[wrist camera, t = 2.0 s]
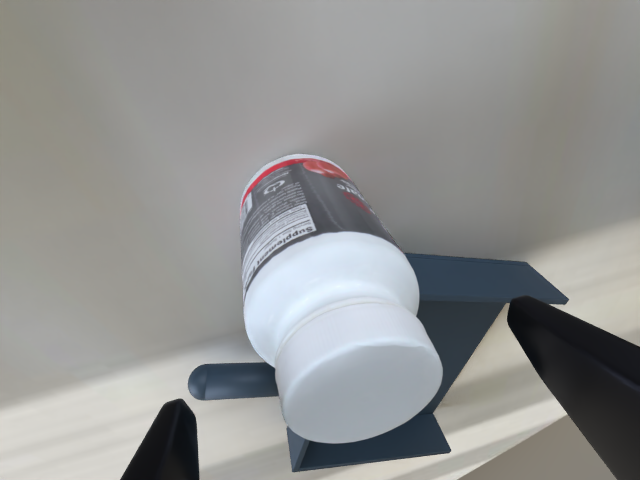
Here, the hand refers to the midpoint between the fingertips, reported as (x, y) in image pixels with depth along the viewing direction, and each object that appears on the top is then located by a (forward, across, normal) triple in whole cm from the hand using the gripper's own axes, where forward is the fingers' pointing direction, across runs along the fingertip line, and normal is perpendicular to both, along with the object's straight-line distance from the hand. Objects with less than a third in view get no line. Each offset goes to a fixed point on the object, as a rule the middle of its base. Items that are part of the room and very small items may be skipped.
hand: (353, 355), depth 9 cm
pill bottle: (+9, 0, 0) cm, 9 cm away
